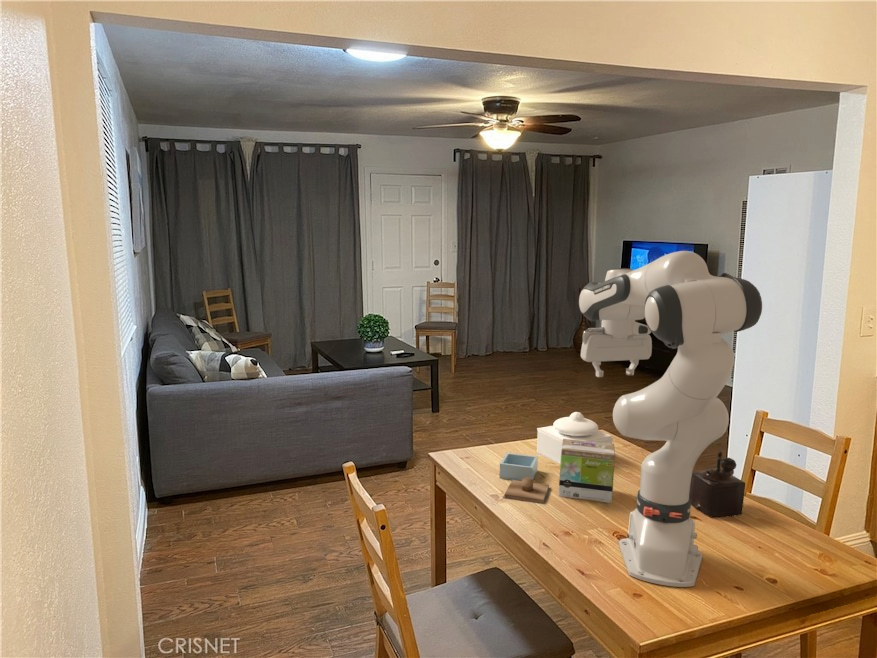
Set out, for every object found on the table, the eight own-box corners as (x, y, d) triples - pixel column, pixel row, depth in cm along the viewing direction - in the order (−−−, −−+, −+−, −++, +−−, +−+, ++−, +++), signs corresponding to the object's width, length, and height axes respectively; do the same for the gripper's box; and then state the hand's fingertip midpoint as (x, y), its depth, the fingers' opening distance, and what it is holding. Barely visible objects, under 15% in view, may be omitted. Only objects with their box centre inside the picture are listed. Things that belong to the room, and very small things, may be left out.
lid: (543, 503, 176) (543, 489, 175) (504, 497, 179) (504, 484, 178) (548, 488, 186) (549, 475, 185) (512, 482, 189) (512, 470, 189)
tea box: (558, 498, 180) (560, 448, 178) (559, 484, 190) (562, 437, 187) (612, 504, 177) (615, 453, 174) (611, 489, 186) (614, 442, 184)
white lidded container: (570, 470, 201) (572, 422, 199) (535, 452, 217) (537, 408, 214) (611, 461, 209) (613, 415, 207) (575, 445, 225) (577, 402, 222)
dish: (531, 483, 190) (532, 467, 189) (499, 479, 193) (499, 463, 192) (537, 471, 199) (537, 456, 199) (506, 467, 202) (506, 452, 202)
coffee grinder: (684, 502, 178) (689, 441, 175) (717, 498, 181) (723, 439, 178) (720, 527, 163) (726, 461, 161) (757, 523, 166) (763, 458, 163)
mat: (544, 505, 175) (544, 504, 175) (502, 499, 179) (502, 498, 179) (550, 488, 186) (550, 487, 186) (510, 483, 190) (510, 482, 190)
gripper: (588, 329, 167) (586, 380, 170) (656, 327, 172) (653, 376, 175) (577, 326, 173) (575, 374, 176) (643, 324, 178) (640, 371, 181)
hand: (614, 375), depth 175 cm, fingers open, 8 cm apart
